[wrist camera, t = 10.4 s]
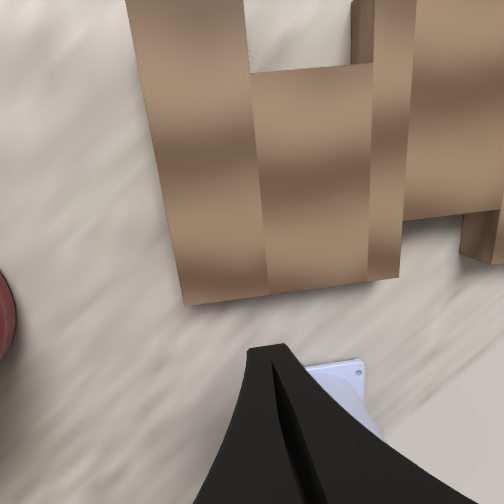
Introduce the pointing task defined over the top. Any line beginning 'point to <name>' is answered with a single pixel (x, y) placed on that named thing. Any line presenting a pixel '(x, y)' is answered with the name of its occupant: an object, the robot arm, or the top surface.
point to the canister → (6, 317)
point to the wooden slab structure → (322, 143)
